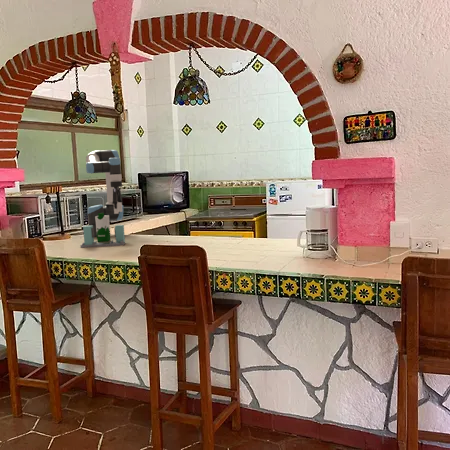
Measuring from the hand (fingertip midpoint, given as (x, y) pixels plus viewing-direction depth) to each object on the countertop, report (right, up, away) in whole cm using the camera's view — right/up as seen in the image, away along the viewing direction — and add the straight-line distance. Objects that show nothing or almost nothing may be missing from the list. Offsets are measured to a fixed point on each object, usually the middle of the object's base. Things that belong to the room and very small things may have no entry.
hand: (118, 212), depth 324 cm
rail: (-9, -22, -5) cm, 24 cm away
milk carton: (-13, -20, +15) cm, 28 cm away
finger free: (+1, -21, +3) cm, 21 cm away
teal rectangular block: (-18, -21, -6) cm, 28 cm away
